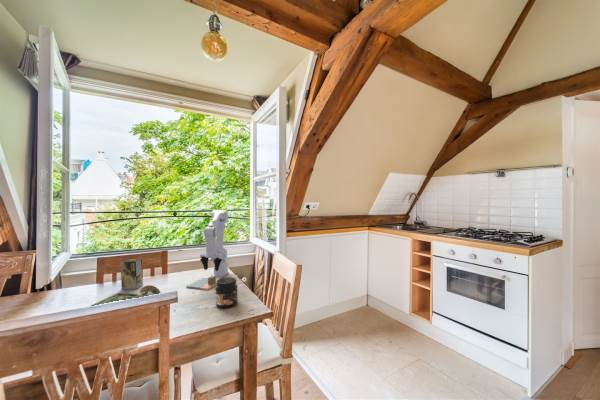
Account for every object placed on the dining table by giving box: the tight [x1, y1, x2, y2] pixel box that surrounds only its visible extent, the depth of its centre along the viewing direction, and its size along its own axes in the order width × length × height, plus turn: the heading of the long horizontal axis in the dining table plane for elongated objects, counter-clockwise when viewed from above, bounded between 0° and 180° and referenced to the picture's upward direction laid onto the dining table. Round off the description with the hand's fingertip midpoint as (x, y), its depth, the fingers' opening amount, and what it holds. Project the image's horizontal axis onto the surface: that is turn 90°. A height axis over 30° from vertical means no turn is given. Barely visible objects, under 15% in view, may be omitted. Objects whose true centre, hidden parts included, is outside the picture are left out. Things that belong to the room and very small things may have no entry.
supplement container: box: [214, 276, 239, 309], centre depth 123 cm, size 10×10×12 cm
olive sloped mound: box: [90, 284, 162, 306], centre depth 126 cm, size 33×8×20 cm
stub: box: [199, 275, 220, 291], centre depth 149 cm, size 15×5×5 cm, turn 163°
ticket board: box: [186, 277, 209, 290], centre depth 152 cm, size 15×9×1 cm, turn 163°
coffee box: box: [120, 258, 144, 290], centre depth 148 cm, size 9×6×16 cm
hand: (211, 270), depth 149 cm, fingers open, 7 cm apart
